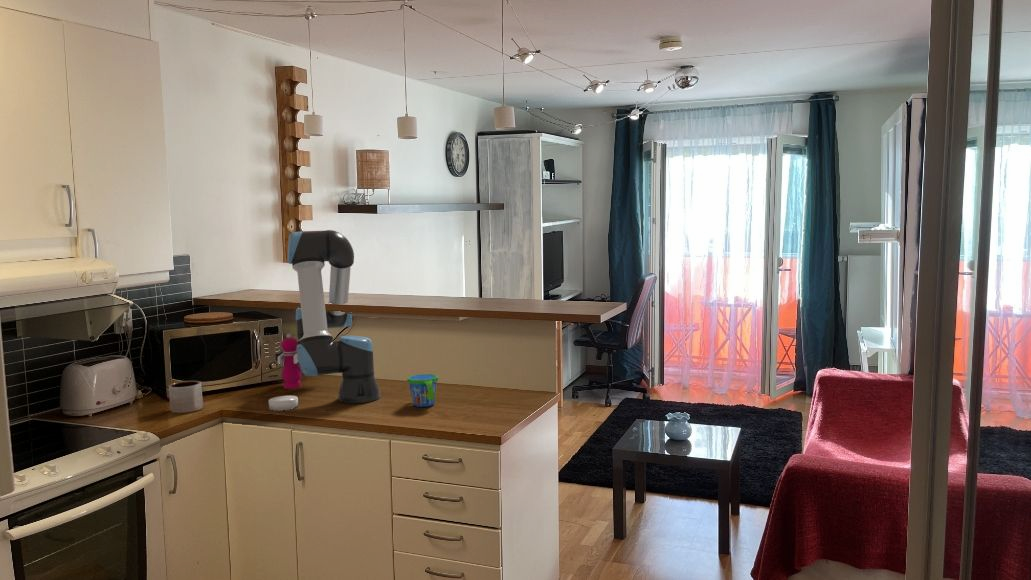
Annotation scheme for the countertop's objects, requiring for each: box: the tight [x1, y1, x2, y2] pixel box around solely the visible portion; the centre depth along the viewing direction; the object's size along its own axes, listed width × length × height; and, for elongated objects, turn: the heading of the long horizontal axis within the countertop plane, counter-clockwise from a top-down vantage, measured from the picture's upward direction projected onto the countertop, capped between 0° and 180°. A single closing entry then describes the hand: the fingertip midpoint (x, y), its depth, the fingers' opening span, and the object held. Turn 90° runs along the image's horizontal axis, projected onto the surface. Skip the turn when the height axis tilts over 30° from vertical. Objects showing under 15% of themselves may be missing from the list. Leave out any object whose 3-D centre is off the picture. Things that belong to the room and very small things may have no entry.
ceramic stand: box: [268, 395, 299, 412], centre depth 278 cm, size 10×10×3 cm
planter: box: [168, 380, 204, 414], centre depth 278 cm, size 11×11×10 cm
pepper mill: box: [280, 333, 303, 390], centre depth 288 cm, size 7×7×20 cm
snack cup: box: [406, 373, 439, 408], centre depth 274 cm, size 16×10×10 cm
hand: (286, 360), depth 283 cm, fingers closed on pepper mill, 5 cm apart
